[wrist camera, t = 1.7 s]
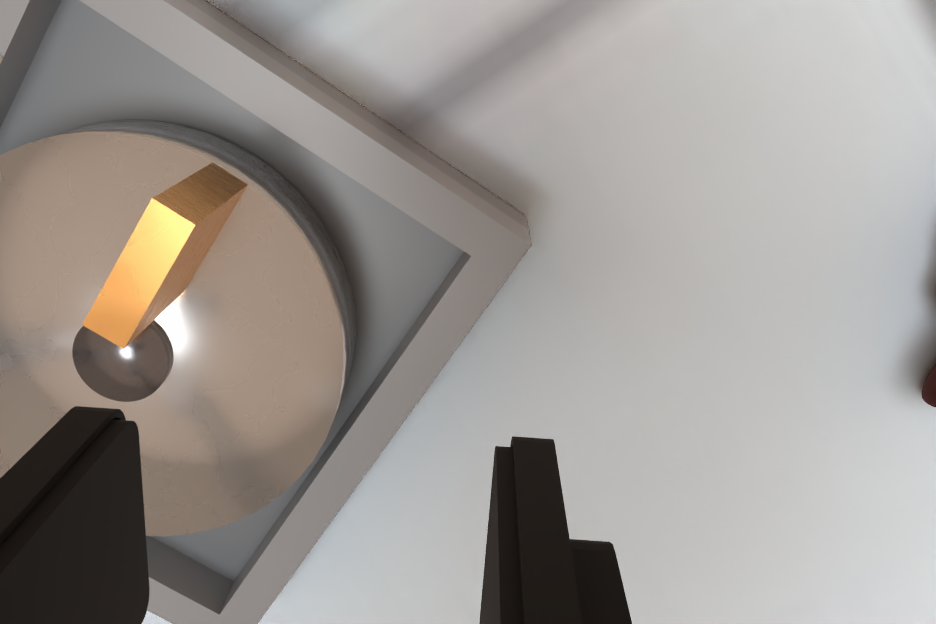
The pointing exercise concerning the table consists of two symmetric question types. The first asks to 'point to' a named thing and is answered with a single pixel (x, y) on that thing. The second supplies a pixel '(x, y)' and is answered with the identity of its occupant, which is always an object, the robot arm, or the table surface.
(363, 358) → the tray
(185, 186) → the dial
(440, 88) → the table surface
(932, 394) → the icecream
